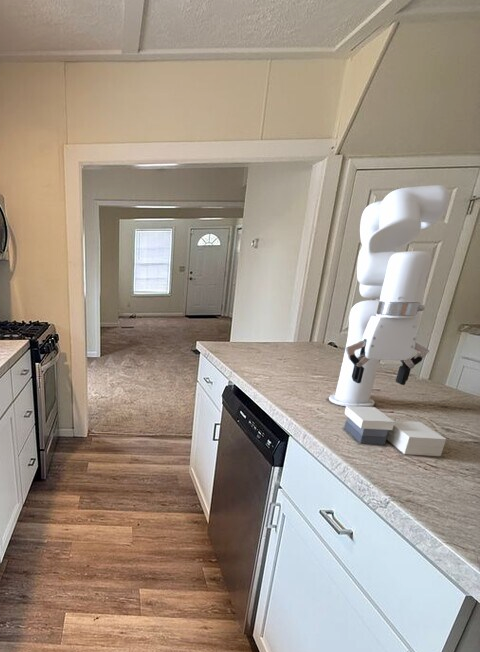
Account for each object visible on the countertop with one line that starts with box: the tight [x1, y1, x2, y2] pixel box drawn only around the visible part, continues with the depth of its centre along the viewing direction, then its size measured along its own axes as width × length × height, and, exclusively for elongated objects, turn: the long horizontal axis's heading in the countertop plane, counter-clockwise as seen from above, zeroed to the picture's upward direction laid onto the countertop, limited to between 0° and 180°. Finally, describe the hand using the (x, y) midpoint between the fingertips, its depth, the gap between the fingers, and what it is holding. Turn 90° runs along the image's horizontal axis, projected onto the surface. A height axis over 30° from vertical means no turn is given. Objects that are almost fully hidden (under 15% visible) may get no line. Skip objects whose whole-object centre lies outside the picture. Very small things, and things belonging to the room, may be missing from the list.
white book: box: [344, 406, 395, 430], centre depth 102 cm, size 11×7×2 cm, turn 169°
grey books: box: [343, 416, 388, 446], centre depth 103 cm, size 11×6×4 cm, turn 169°
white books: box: [386, 420, 447, 457], centre depth 97 cm, size 11×8×4 cm
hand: (378, 382), depth 98 cm, fingers open, 9 cm apart
